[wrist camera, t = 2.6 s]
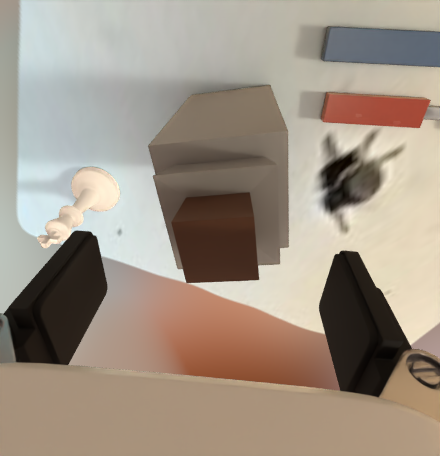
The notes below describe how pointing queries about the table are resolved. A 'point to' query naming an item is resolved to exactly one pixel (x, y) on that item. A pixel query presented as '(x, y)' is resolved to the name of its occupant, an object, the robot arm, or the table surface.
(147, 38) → the table surface
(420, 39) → the knife
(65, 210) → the chess piece
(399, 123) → the fork
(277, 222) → the perfume bottle
